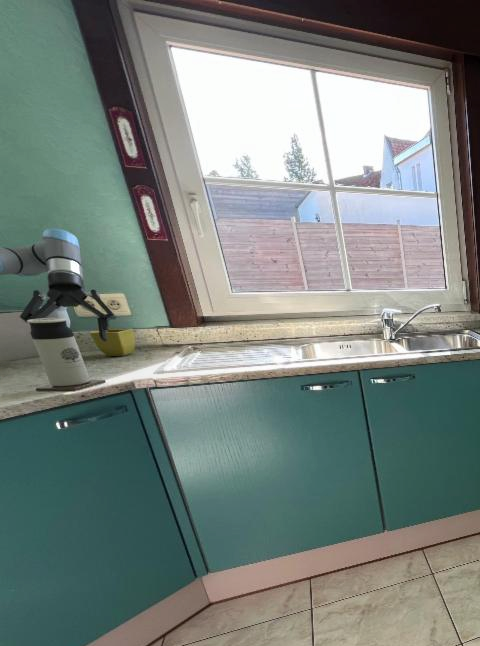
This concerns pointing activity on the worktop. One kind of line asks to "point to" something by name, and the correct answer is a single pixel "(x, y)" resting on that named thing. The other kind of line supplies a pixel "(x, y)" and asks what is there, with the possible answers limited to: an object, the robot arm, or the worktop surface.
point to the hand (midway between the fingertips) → (72, 340)
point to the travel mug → (58, 352)
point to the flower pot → (115, 342)
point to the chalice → (60, 314)
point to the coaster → (69, 388)
